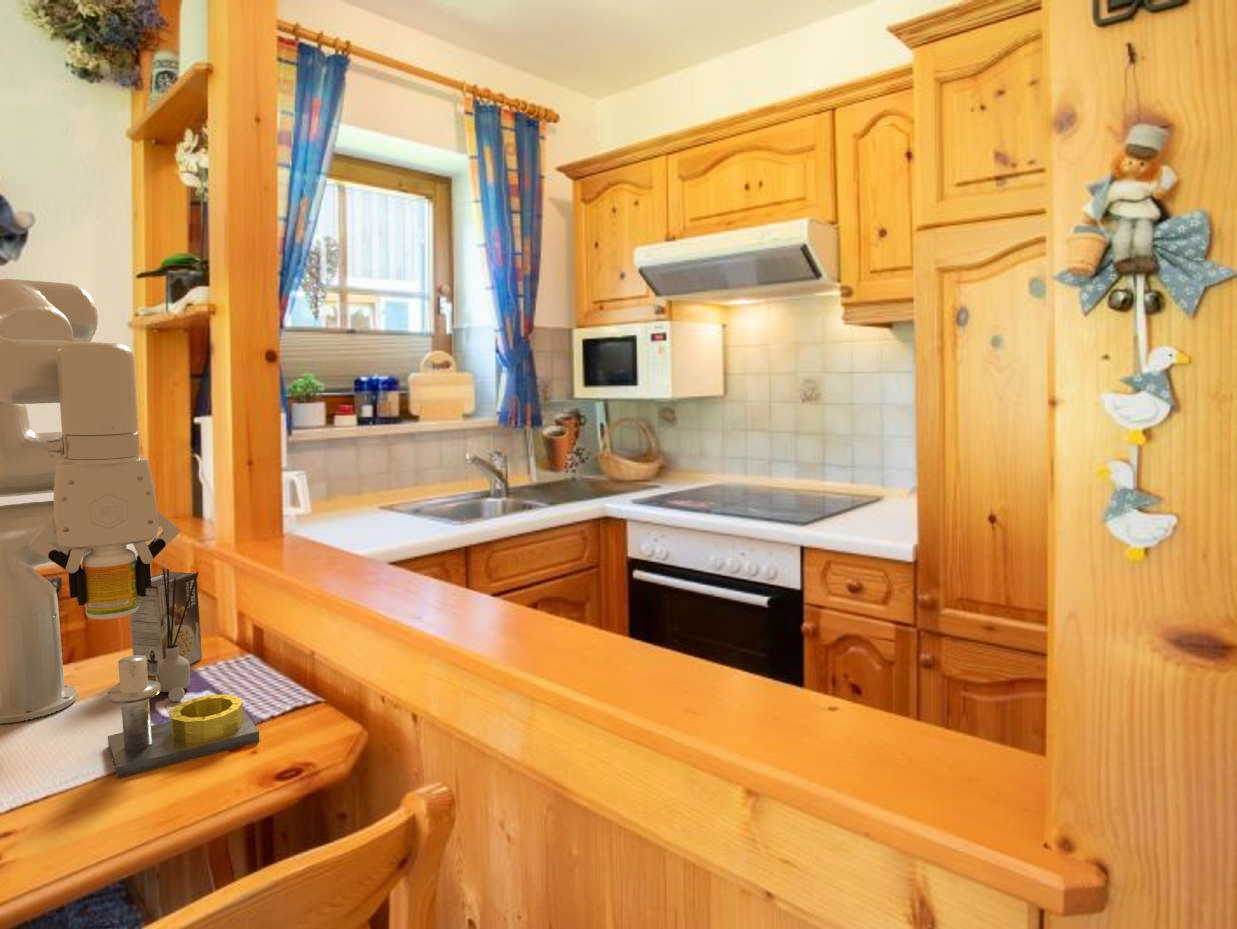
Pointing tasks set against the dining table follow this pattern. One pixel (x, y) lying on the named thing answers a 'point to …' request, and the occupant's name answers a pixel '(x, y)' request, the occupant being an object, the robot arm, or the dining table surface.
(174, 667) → the reed diffuser
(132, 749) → the grey peg stand
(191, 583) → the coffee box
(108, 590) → the supplement bottle
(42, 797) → the dining table surface
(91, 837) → the dining table surface
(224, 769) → the dining table surface
